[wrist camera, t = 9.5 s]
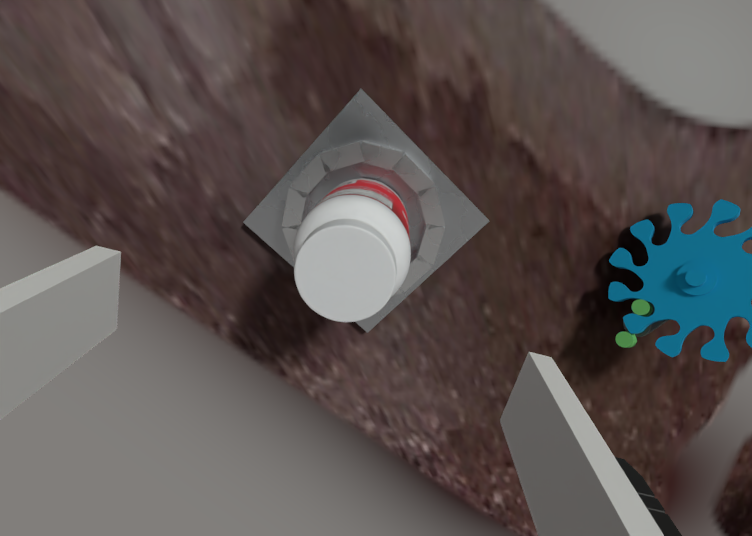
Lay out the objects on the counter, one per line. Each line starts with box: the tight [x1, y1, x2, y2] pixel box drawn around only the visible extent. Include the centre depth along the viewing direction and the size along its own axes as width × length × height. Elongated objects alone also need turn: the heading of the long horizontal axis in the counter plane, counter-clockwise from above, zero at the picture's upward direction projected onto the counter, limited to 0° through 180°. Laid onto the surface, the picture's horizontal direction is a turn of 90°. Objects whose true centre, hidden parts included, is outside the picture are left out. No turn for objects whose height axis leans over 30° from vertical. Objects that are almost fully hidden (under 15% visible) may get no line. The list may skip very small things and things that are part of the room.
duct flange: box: [243, 89, 489, 333], centre depth 30 cm, size 12×12×2 cm
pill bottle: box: [293, 178, 411, 322], centre depth 25 cm, size 6×6×11 cm
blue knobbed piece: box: [608, 199, 752, 362], centre depth 29 cm, size 11×6×10 cm
